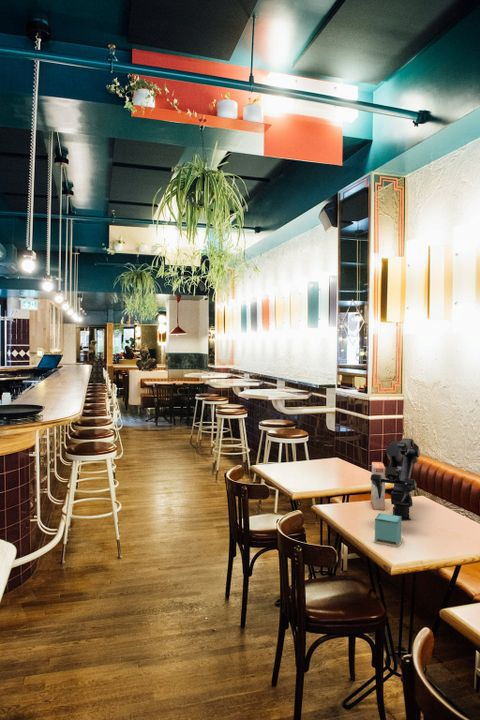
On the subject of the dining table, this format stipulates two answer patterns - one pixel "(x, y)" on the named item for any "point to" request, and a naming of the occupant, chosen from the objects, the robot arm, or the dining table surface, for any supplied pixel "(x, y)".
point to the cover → (388, 527)
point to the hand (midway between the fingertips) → (390, 500)
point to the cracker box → (376, 502)
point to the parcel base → (389, 542)
